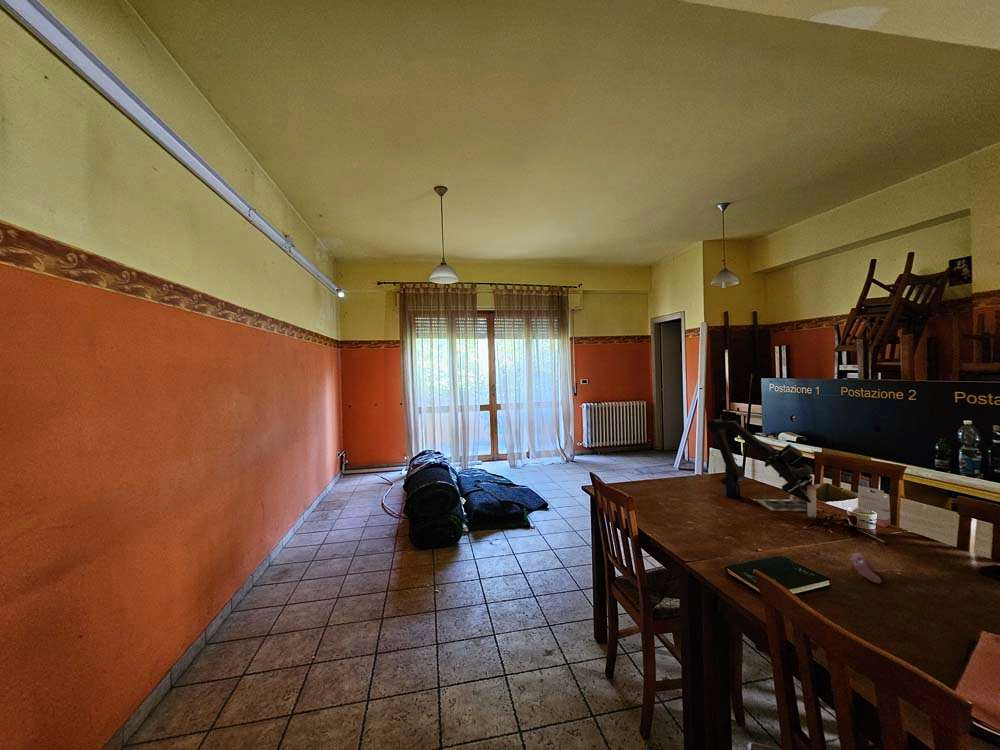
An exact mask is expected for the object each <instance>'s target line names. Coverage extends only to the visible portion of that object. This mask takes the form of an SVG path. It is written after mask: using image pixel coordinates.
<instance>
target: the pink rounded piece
mask: <svg viewBox="0 0 1000 750" xmlns="http://www.w3.org/2000/svg"><path fill="white" fill-rule="evenodd" d="M850 559H851V561H852V563H853V564H854V566H855V569H856V570H857V571H858V574H859V575H861V576H862V578H864V577H865V578H866V579H867V580H869V581H870V582H872V583H875V584H881V583H882V579H881V577H880V576H878V575H877V574H876V573H874V572H876V571H877V567H876V566H875V564H874V563H872V561H870V560H869V559H868V558H866V557H865V556H864V555H863V554H861V553H860V552H859V553H858V552H854V553H851V558H850Z"/></svg>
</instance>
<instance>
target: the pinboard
mask: <svg viewBox="0 0 1000 750" xmlns="http://www.w3.org/2000/svg"><path fill="white" fill-rule="evenodd" d="M756 503H758V504H760V505H762V506H764V507H765V508H767V509H769V510H770V511H772V512H777V511H779V512H808V511H807V502H806V501H804V500H799V498H798V497H796V496H794V495H791V494H789V499H762V498H761V499H760V498H759V499H756Z"/></svg>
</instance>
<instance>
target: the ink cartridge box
mask: <svg viewBox="0 0 1000 750" xmlns="http://www.w3.org/2000/svg"><path fill="white" fill-rule="evenodd" d="M857 491H858V492H857V509H858V508H864V509H868V510H870V511H874V512H876V513H877V524H878V525H877V526H878V527H882V528H887V527H886V525H885V524H887V525H889V526H890V525H891V503H890V499H891V498H890V495H889V496H888V495H885V491H884V490H882V489H878V488H872V487H868V486H863V485H858V487H857ZM871 491H872V492H871Z"/></svg>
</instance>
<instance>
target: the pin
mask: <svg viewBox="0 0 1000 750" xmlns="http://www.w3.org/2000/svg"><path fill="white" fill-rule="evenodd" d="M816 492H817V486H815V485H813V486H811V485H807V492H806V495H807V496H808V498H809V499H810V500H811V502H810V503H808V502H807V511H806V512H807V516H808V517H809V518H812V517H811V516H816V515H817V498H816Z"/></svg>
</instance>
